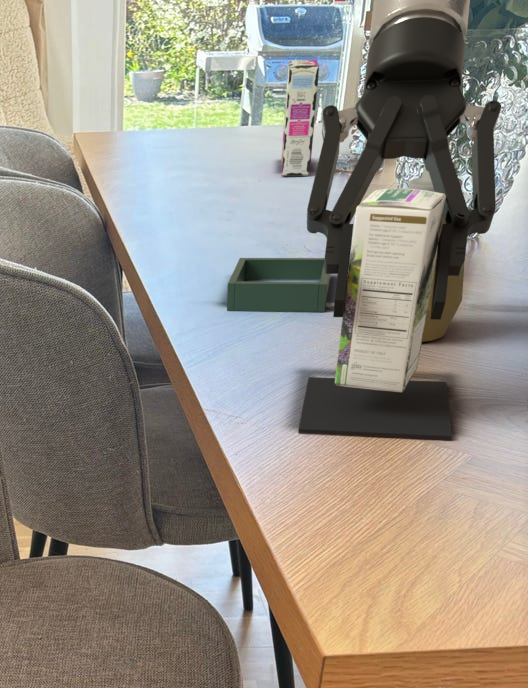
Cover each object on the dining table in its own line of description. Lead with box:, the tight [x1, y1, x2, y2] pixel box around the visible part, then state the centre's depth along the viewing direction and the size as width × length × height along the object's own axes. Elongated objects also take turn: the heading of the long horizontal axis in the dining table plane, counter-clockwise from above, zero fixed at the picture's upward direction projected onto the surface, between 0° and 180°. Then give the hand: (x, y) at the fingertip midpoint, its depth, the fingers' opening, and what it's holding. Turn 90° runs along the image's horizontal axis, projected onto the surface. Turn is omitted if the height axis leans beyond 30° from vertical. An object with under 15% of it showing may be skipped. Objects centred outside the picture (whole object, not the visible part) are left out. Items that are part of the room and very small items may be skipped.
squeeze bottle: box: [408, 136, 465, 343], centre depth 95 cm, size 8×8×18 cm
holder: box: [226, 257, 332, 313], centre depth 112 cm, size 11×11×3 cm
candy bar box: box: [280, 59, 320, 177], centre depth 167 cm, size 11×5×16 cm, turn 169°
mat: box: [297, 376, 453, 441], centre depth 85 cm, size 12×12×1 cm
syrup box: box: [334, 188, 446, 392], centre depth 80 cm, size 6×6×14 cm
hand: (387, 309), depth 77 cm, fingers closed on syrup box, 7 cm apart
